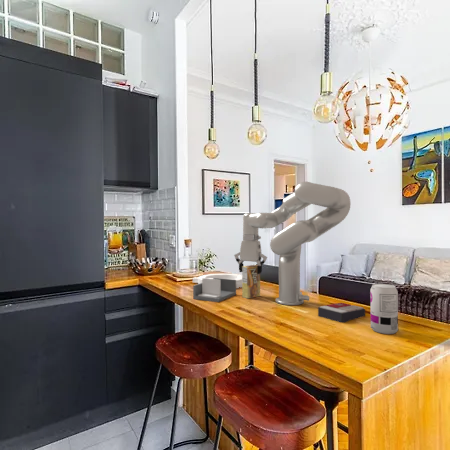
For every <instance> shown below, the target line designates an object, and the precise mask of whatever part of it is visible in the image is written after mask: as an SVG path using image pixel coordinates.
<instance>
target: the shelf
mask: <svg viewBox="0 0 450 450" xmlns="http://www.w3.org/2000/svg"><path fill="white" fill-rule="evenodd" d="M192 289H193V290H192V291H193V292H192V296H193V297H192V298H193V300H198V301H199V300H200V301H204V302H205V301H207V302H214V303H220V302H222V301H224V300H227V299H230V298H232V297H234V296H236V295H237V288H236V280H232V279H221V278H213V279H207V278H202V283H200V284H198V283H195V284H194V285H193V286H192Z"/></svg>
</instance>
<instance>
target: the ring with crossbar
mask: <svg viewBox="0 0 450 450" xmlns="http://www.w3.org/2000/svg"><path fill="white" fill-rule="evenodd" d="M202 278H207V279H213V278H221V279H232V280H236V289H240V288H242V274H239V273H238V274H236V273H209V274H204V275H203V274H202V275H199V276H198V277H196V276H195V277H193V278H192V284H193V283H195V284H200V283H202ZM239 287H240V288H239Z"/></svg>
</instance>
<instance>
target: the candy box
mask: <svg viewBox="0 0 450 450" xmlns="http://www.w3.org/2000/svg"><path fill="white" fill-rule="evenodd" d="M257 266H258V264H250V265H243V266H242V272H241V275H242V287H241V289H242V292H241V293H242V295H241V297H242V298H245V299H252V298H255V297H256V298H257V297H260V296H261V274H257Z"/></svg>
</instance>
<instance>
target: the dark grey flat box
mask: <svg viewBox="0 0 450 450" xmlns="http://www.w3.org/2000/svg"><path fill="white" fill-rule="evenodd" d="M317 316H318V317H319V318H320V317H321V318H323V319H326V320H331V321H335V322H338V323H343V324H344V323H347V322H349V321H351V320H356V319H359V318H364V317H365V316H366V309H365V308H364V307H362V306H358V305H354V304H353V305H352V304H349V303H344V302H337V303H331V304H326V305H321V306H319V307H318V308H317Z"/></svg>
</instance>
